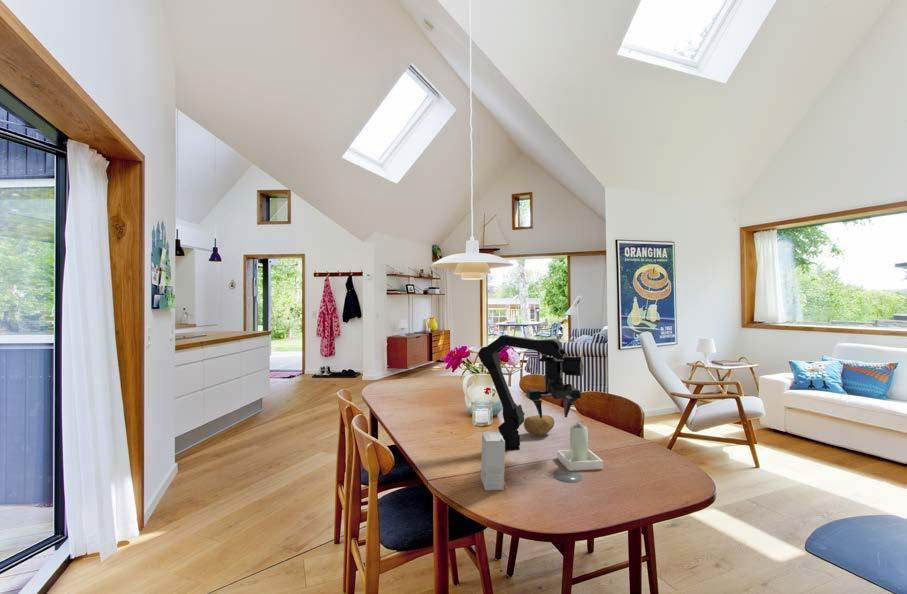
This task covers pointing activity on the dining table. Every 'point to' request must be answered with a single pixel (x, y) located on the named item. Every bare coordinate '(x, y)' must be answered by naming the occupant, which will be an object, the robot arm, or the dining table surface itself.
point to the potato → (538, 424)
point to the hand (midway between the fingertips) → (553, 417)
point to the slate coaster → (567, 477)
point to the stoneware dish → (591, 464)
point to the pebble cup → (578, 443)
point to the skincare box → (493, 461)
